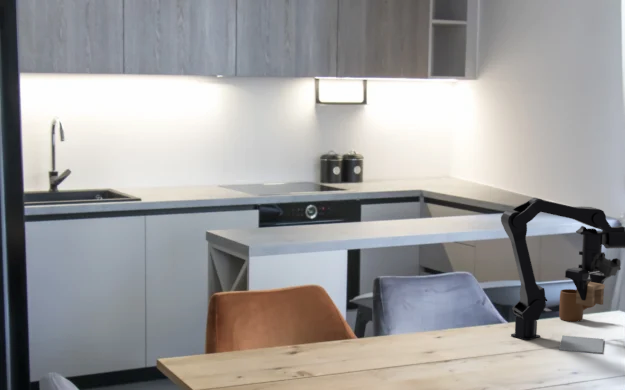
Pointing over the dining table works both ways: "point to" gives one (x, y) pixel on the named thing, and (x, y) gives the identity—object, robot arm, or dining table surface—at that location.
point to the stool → (592, 295)
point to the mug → (570, 306)
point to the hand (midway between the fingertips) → (589, 298)
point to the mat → (581, 344)
